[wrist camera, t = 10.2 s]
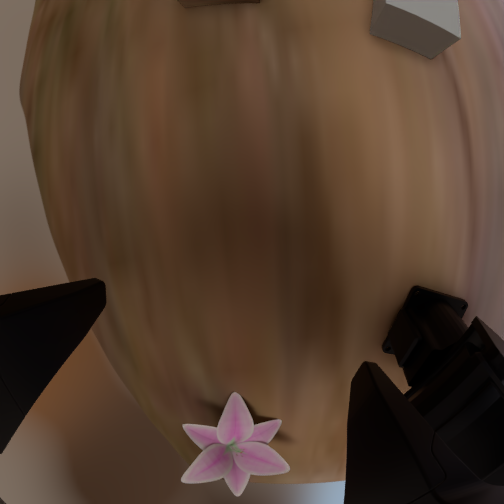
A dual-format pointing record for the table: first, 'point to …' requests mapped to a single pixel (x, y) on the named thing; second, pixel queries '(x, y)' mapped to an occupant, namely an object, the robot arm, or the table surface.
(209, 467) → the lily
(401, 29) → the slate-grey block
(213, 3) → the walnut block
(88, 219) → the table surface
